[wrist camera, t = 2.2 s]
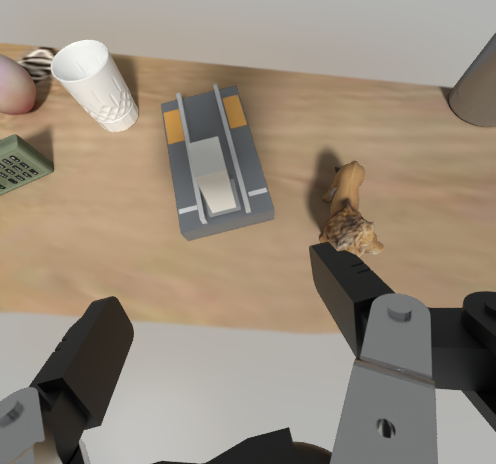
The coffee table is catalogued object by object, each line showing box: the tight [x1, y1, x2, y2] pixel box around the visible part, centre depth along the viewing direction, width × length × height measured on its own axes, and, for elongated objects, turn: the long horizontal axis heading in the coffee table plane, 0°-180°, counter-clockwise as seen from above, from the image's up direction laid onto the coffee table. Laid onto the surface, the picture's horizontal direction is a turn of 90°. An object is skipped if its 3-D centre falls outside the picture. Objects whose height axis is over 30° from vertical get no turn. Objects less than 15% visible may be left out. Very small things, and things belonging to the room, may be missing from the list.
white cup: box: [51, 40, 139, 132], centre depth 39 cm, size 8×8×10 cm
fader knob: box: [188, 136, 241, 217], centre depth 29 cm, size 4×4×9 cm
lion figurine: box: [320, 161, 384, 257], centre depth 30 cm, size 15×5×9 cm, turn 177°
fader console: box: [161, 84, 274, 241], centre depth 37 cm, size 12×22×4 cm, turn 14°
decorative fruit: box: [0, 55, 36, 115], centre depth 41 cm, size 9×8×10 cm
